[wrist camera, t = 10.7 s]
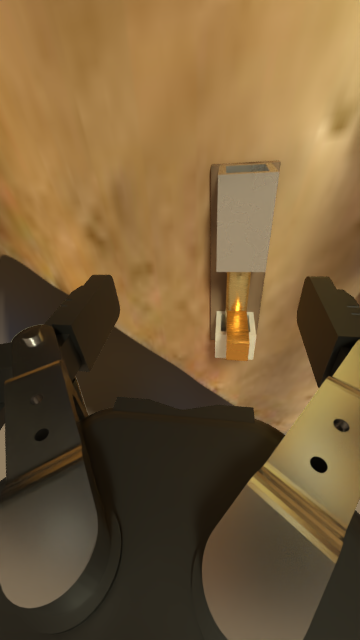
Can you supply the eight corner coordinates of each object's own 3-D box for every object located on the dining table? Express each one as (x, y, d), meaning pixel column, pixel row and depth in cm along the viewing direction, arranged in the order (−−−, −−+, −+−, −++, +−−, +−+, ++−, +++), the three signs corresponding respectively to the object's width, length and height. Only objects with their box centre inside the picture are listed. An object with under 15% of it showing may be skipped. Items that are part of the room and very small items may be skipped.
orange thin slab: (253, 235, 35) (260, 271, 27) (243, 333, 45) (246, 380, 37) (228, 235, 35) (228, 271, 28) (224, 332, 46) (223, 379, 38)
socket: (253, 312, 44) (256, 336, 39) (250, 334, 47) (252, 359, 42) (216, 311, 45) (215, 334, 40) (216, 333, 48) (215, 357, 43)
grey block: (271, 162, 31) (279, 171, 26) (260, 252, 38) (265, 272, 33) (219, 165, 32) (217, 174, 27) (217, 252, 39) (216, 271, 34)
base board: (279, 160, 32) (280, 162, 31) (255, 337, 49) (255, 341, 48) (211, 164, 33) (211, 166, 32) (210, 335, 50) (210, 339, 49)
